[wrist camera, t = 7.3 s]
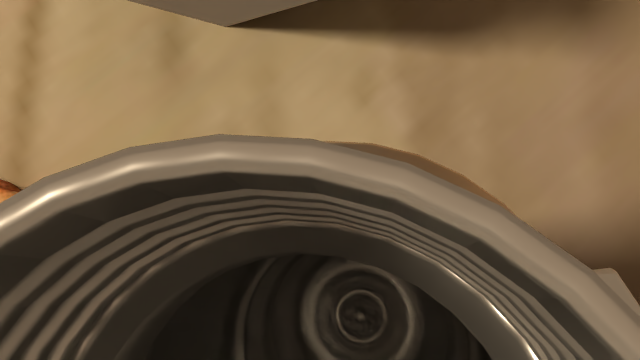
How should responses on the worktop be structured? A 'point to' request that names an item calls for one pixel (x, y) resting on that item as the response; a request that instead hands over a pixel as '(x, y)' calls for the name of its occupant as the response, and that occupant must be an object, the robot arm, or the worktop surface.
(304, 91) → the worktop surface
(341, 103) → the worktop surface
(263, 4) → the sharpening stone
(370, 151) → the plastic bottle
